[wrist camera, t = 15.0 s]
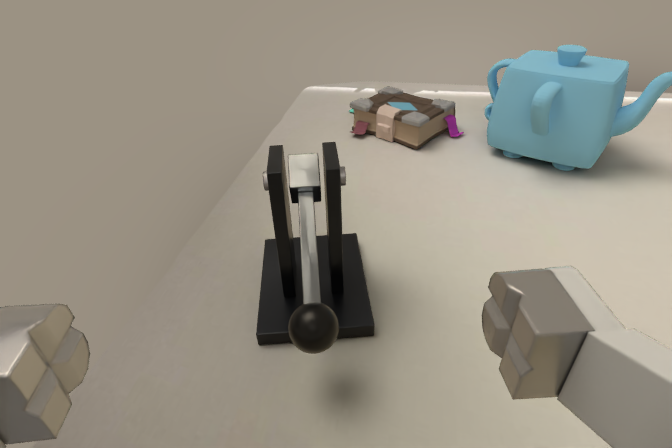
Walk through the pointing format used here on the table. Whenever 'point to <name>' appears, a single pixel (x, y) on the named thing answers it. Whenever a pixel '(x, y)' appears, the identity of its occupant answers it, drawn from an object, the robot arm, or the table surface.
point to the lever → (309, 261)
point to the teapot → (563, 105)
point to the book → (403, 117)
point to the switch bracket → (333, 259)
